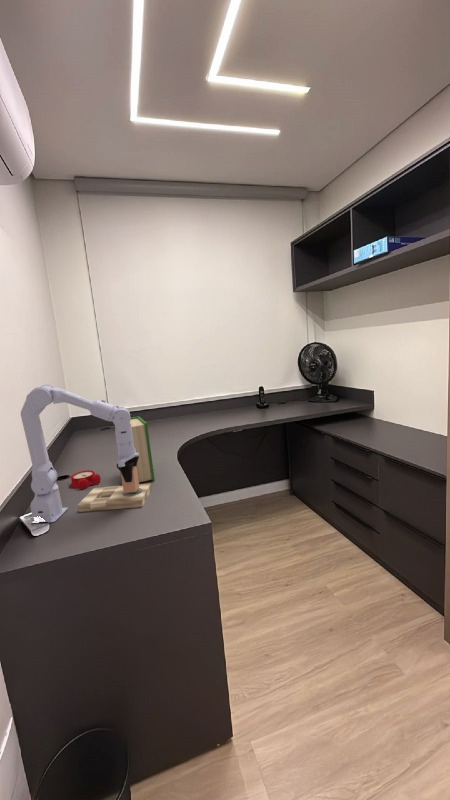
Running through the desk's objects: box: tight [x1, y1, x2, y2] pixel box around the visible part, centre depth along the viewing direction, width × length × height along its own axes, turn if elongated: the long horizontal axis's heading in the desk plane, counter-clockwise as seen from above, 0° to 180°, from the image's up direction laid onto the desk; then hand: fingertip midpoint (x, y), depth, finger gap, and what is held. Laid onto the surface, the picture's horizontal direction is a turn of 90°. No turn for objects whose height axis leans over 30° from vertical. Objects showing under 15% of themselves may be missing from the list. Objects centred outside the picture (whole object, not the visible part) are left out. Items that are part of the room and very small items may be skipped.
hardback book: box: [130, 415, 156, 483], centre depth 144 cm, size 18×7×24 cm, turn 24°
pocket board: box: [77, 482, 153, 513], centre depth 124 cm, size 14×22×3 cm, turn 89°
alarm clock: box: [67, 470, 101, 490], centre depth 143 cm, size 10×6×15 cm
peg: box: [120, 466, 140, 493], centre depth 123 cm, size 4×4×8 cm
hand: (130, 479), depth 123 cm, fingers closed on peg, 4 cm apart
